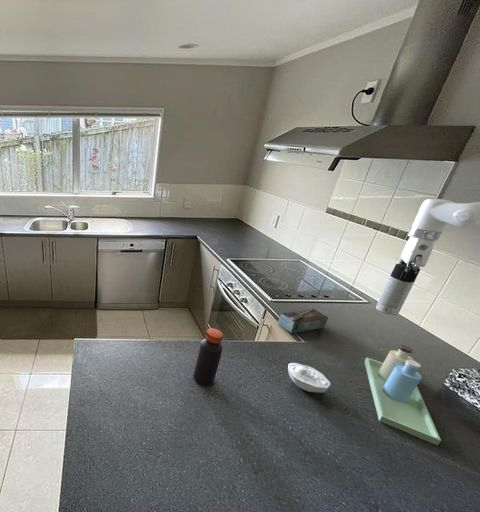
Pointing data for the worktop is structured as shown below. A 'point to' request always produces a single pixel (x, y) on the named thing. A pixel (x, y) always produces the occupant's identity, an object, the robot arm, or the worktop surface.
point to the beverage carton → (302, 320)
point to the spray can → (395, 291)
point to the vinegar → (208, 358)
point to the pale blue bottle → (402, 381)
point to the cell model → (308, 378)
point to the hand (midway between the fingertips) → (402, 277)
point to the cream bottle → (394, 361)
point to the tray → (401, 408)
